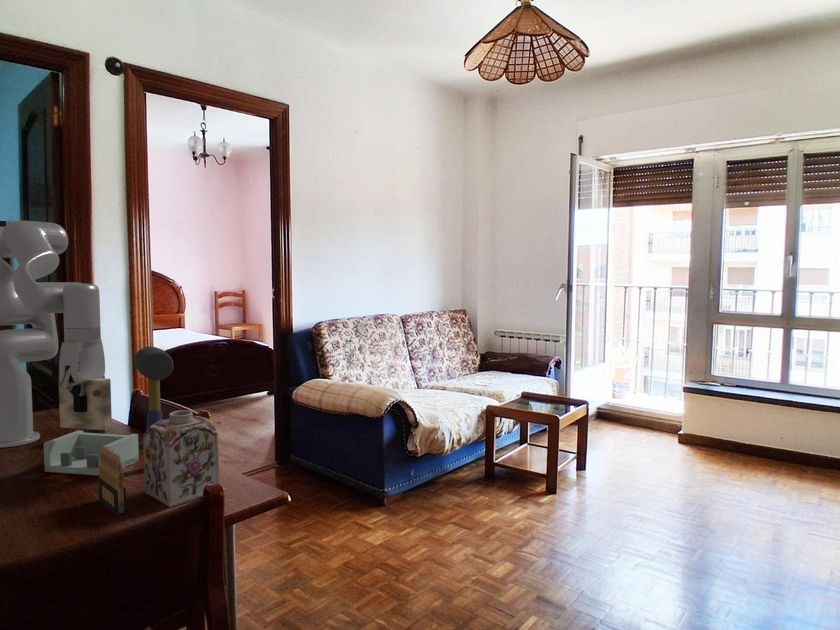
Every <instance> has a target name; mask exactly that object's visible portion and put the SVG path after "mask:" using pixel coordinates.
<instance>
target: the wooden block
mask: <svg viewBox="0 0 840 630" xmlns="http://www.w3.org/2000/svg"><path fill="white" fill-rule="evenodd" d="M111 383H112V382H111V378H105V379H103V378H94V379H90V380H88V381H87V382H85V395H86V396H87V412H74V405H73V396H71V393H70V392H69V391H68V390H65V389H62V385H63V383H61V382H60V380H59V379H58V401H59V403H58V404H59V427H60V428H63V429H64V428H65V429H77V430H78V429H94V430H106V431H107V430H109V429H112V428H113V423H112V422H113V421H112V420H113V418H112V415H113V414H112V389H111V387H112V384H111ZM77 387H78V388H79V386H77Z"/></svg>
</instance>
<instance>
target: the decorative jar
mask: <svg viewBox="0 0 840 630" xmlns="http://www.w3.org/2000/svg"><path fill="white" fill-rule="evenodd" d="M193 414H194V413H193V411H191V410H185V409H184V410H181V409H180V410H174V411H172V412H169V415H168V417H169V418H165V419H163V420H160V421H157V422H156V423H154V424H153V425H152V426H150V428H149V429H148V430H147V431H145V432H144V434H142V435H143V436H142V437H143V440H142V442H143V451H144V452H143V481H144V492H145V495H147V496H150V497H151V498H153V499H155V500H156V501H158V502H161V503H162V504H164V505H165V506H167V507H169V508H173V507H175V506H179V505H181V504H184V503H185V504H186V503H187V502H191V501H194V500H195V501H196V500H197V498H198V499H200V498H199V497H201V496H202V492H203V489H204V487H205V486H207V485H209V484H215V483H219V484H220V457H219V456H220V455H219V454H220V453H219V451H220V450H219V448H220V447H219V437H218V436H219V432H218V431H217V429H216V427H215V426H214V424H213V422H212V421H211V419H209V418H206V417H203V416H198V415H193ZM201 498H202V497H201Z"/></svg>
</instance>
